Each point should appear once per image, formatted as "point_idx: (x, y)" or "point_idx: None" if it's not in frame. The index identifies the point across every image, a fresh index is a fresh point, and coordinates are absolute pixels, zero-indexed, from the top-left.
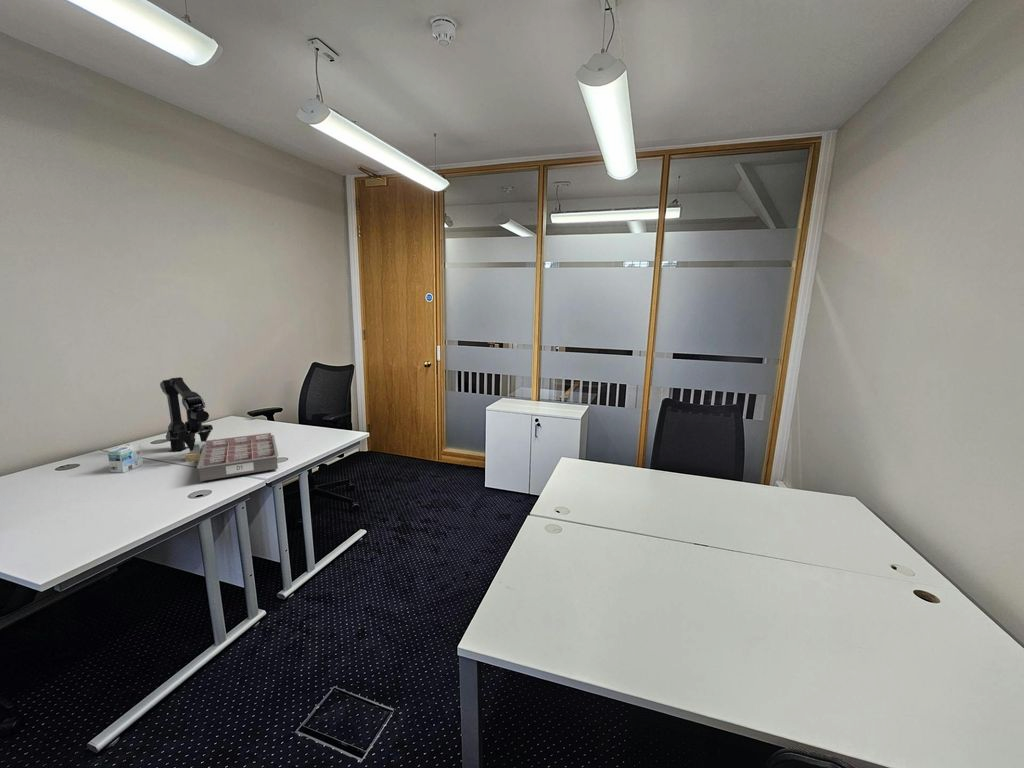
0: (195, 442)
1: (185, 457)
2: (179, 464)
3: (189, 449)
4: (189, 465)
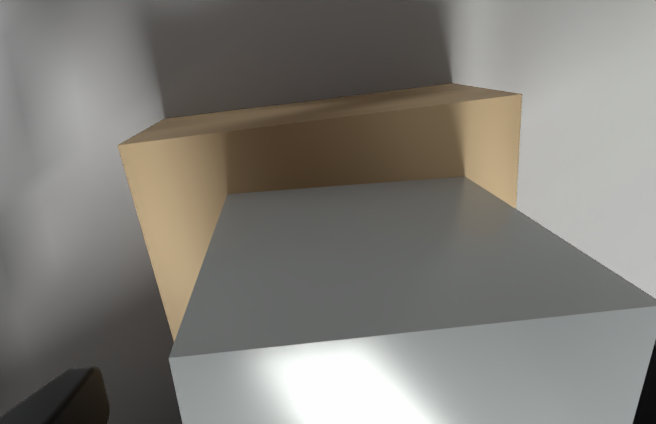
0: (504, 414)
1: (137, 136)
2: (12, 95)
3: (211, 245)
4: (8, 296)
